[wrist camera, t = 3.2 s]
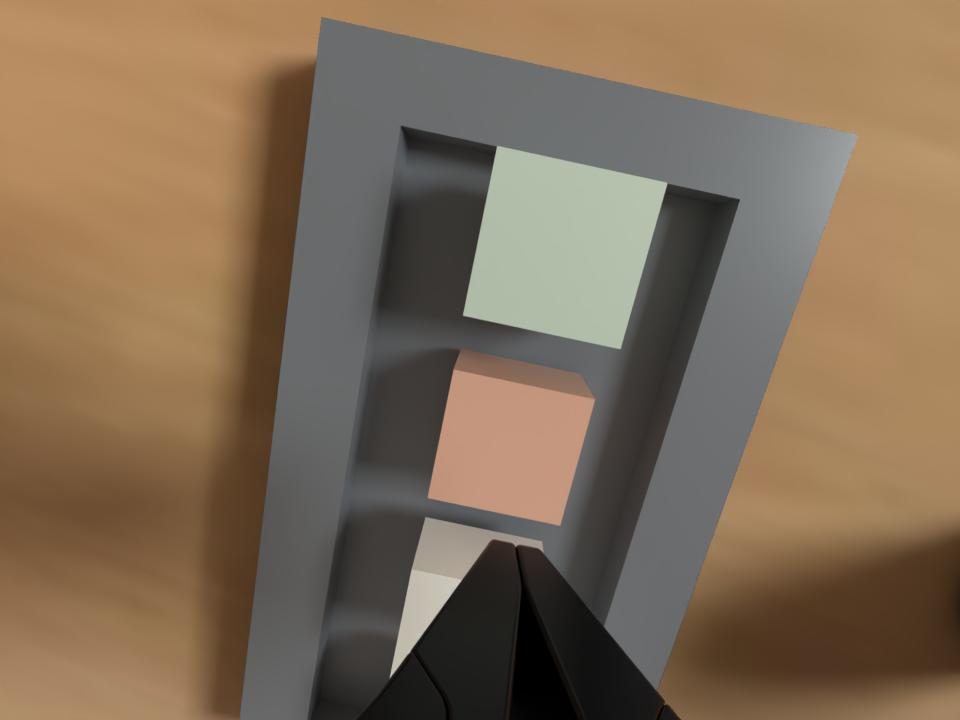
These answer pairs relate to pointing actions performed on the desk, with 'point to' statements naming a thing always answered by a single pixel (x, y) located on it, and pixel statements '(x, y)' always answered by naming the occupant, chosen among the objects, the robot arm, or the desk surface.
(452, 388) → the key terracotta
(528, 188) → the key sage
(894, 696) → the desk surface
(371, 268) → the keypad board
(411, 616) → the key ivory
